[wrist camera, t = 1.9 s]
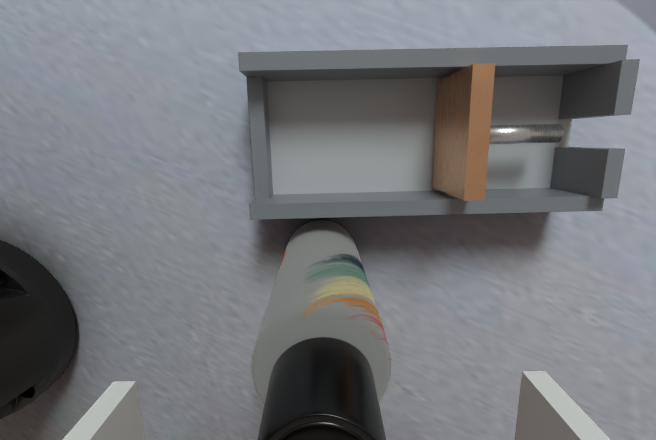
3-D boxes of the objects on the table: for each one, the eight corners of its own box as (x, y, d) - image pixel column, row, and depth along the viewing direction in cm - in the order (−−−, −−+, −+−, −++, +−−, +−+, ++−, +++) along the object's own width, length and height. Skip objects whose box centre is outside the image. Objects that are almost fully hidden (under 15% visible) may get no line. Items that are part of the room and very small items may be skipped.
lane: (262, 205, 28) (247, 223, 22) (254, 69, 25) (234, 48, 20) (553, 198, 28) (614, 213, 22) (569, 63, 26) (642, 40, 20)
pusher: (432, 187, 26) (464, 200, 20) (436, 81, 25) (472, 63, 19) (527, 184, 26) (587, 197, 20) (539, 79, 25) (606, 61, 19)
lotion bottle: (294, 290, 29) (241, 592, 10) (279, 225, 28) (184, 423, 8) (361, 278, 29) (443, 558, 10) (349, 212, 28) (416, 380, 8)
